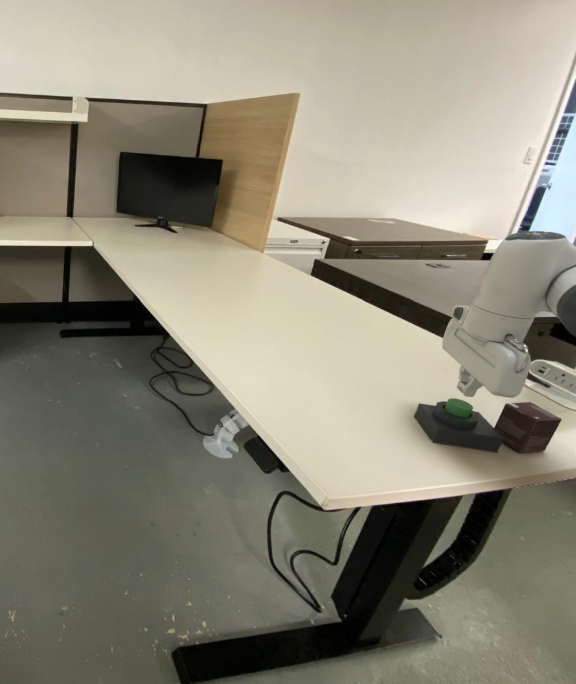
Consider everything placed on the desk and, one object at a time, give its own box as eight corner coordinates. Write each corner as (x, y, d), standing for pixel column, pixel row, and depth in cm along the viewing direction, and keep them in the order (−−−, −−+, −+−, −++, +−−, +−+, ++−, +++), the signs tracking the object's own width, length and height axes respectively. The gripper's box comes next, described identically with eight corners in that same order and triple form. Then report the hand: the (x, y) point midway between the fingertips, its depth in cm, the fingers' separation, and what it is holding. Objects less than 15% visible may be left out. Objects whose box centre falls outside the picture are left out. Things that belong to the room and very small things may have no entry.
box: (545, 452, 87) (564, 419, 84) (519, 454, 86) (536, 420, 83) (514, 432, 92) (530, 401, 89) (489, 434, 91) (505, 402, 88)
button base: (472, 425, 94) (482, 404, 92) (497, 452, 86) (508, 430, 84) (413, 416, 95) (422, 395, 93) (432, 442, 87) (442, 420, 85)
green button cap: (462, 409, 90) (466, 400, 89) (473, 420, 87) (477, 411, 86) (440, 405, 91) (444, 396, 90) (449, 416, 87) (454, 407, 86)
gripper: (555, 352, 71) (516, 427, 77) (484, 307, 90) (457, 370, 96) (510, 346, 72) (474, 420, 78) (449, 303, 91) (424, 366, 96)
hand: (464, 392), depth 87 cm, fingers closed
